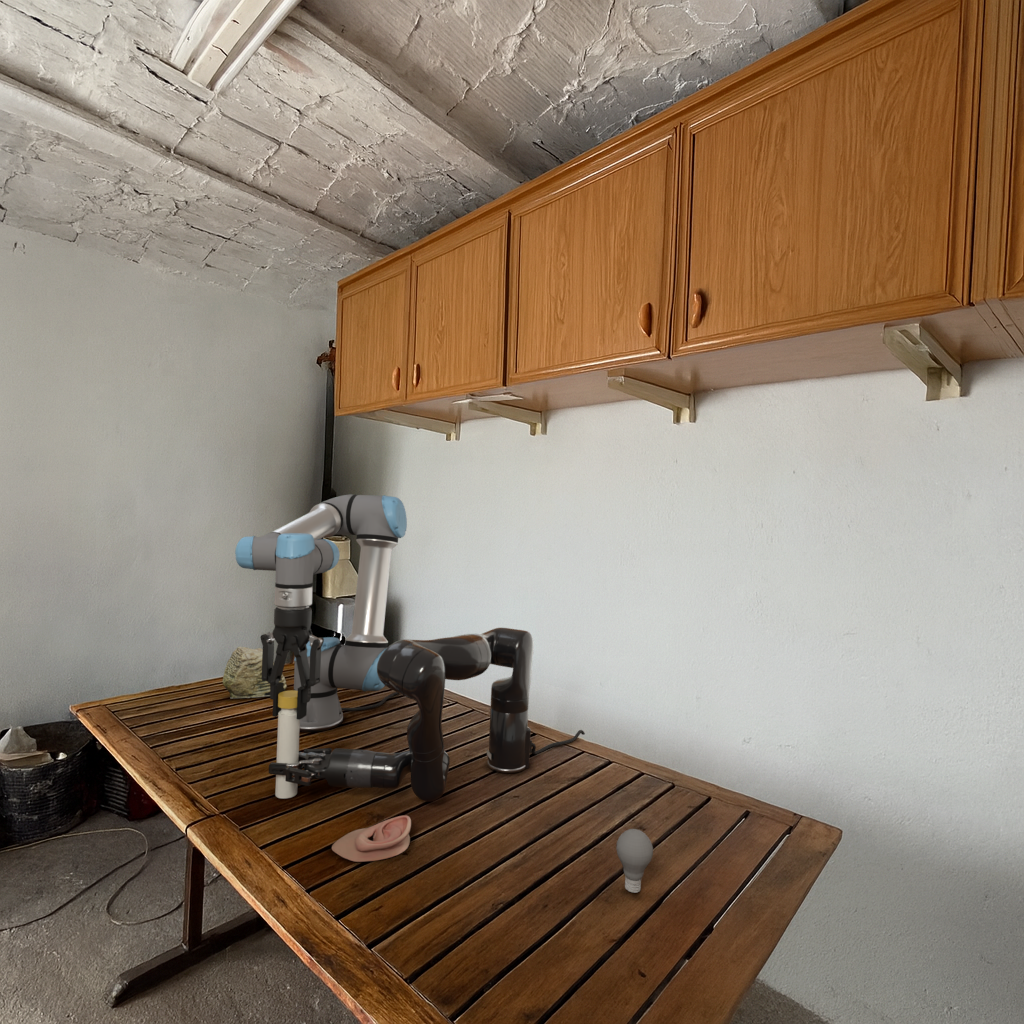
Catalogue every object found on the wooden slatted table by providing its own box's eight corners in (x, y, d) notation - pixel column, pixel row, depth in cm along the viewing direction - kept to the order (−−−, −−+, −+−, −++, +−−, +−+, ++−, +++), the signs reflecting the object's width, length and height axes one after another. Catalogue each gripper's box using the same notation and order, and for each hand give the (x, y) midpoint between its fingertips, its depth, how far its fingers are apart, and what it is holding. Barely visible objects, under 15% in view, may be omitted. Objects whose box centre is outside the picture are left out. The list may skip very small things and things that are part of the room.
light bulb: (610, 879, 108) (613, 822, 108) (644, 879, 109) (647, 822, 109) (619, 902, 102) (622, 840, 102) (655, 901, 103) (658, 840, 103)
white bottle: (276, 789, 136) (280, 699, 136) (298, 788, 137) (301, 698, 137) (273, 799, 132) (277, 705, 131) (295, 798, 133) (299, 705, 132)
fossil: (218, 695, 195) (220, 647, 195) (278, 685, 208) (279, 640, 207) (228, 703, 189) (230, 653, 188) (289, 692, 201) (290, 645, 201)
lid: (297, 709, 132) (298, 697, 132) (274, 708, 132) (274, 697, 132) (304, 701, 137) (305, 690, 137) (282, 700, 137) (282, 689, 137)
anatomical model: (323, 834, 111) (353, 804, 123) (323, 856, 111) (352, 824, 123) (394, 845, 109) (418, 814, 120) (393, 868, 109) (417, 834, 120)
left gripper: (244, 606, 132) (240, 717, 132) (323, 612, 128) (319, 726, 129) (265, 600, 139) (261, 705, 140) (340, 606, 136) (336, 714, 136)
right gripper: (364, 738, 141) (288, 733, 141) (343, 764, 126) (260, 759, 127) (362, 771, 141) (287, 766, 142) (342, 802, 127) (258, 796, 127)
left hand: (289, 715), depth 134 cm, fingers closed on lid, 5 cm apart
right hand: (274, 763), depth 134 cm, fingers closed on white bottle, 4 cm apart
